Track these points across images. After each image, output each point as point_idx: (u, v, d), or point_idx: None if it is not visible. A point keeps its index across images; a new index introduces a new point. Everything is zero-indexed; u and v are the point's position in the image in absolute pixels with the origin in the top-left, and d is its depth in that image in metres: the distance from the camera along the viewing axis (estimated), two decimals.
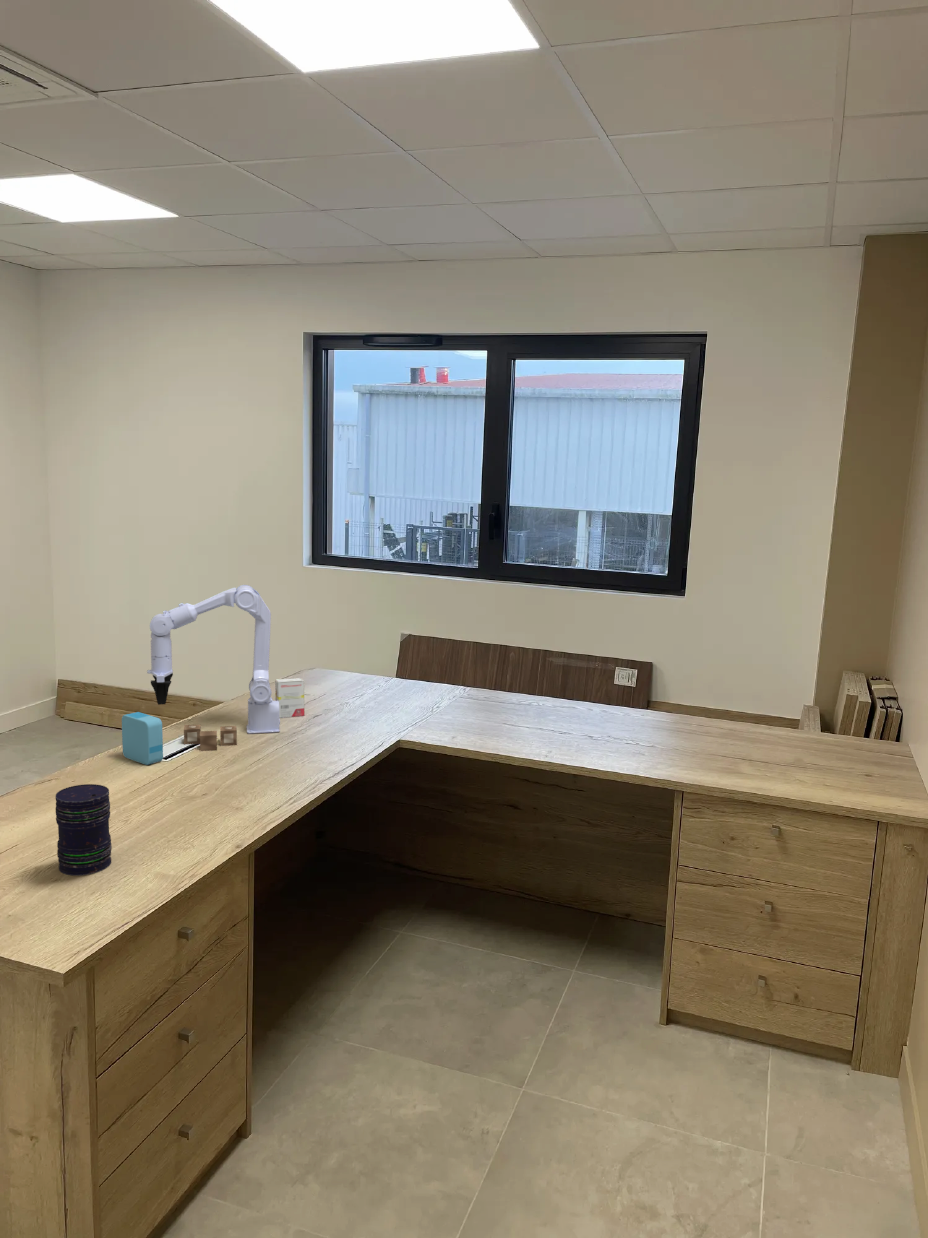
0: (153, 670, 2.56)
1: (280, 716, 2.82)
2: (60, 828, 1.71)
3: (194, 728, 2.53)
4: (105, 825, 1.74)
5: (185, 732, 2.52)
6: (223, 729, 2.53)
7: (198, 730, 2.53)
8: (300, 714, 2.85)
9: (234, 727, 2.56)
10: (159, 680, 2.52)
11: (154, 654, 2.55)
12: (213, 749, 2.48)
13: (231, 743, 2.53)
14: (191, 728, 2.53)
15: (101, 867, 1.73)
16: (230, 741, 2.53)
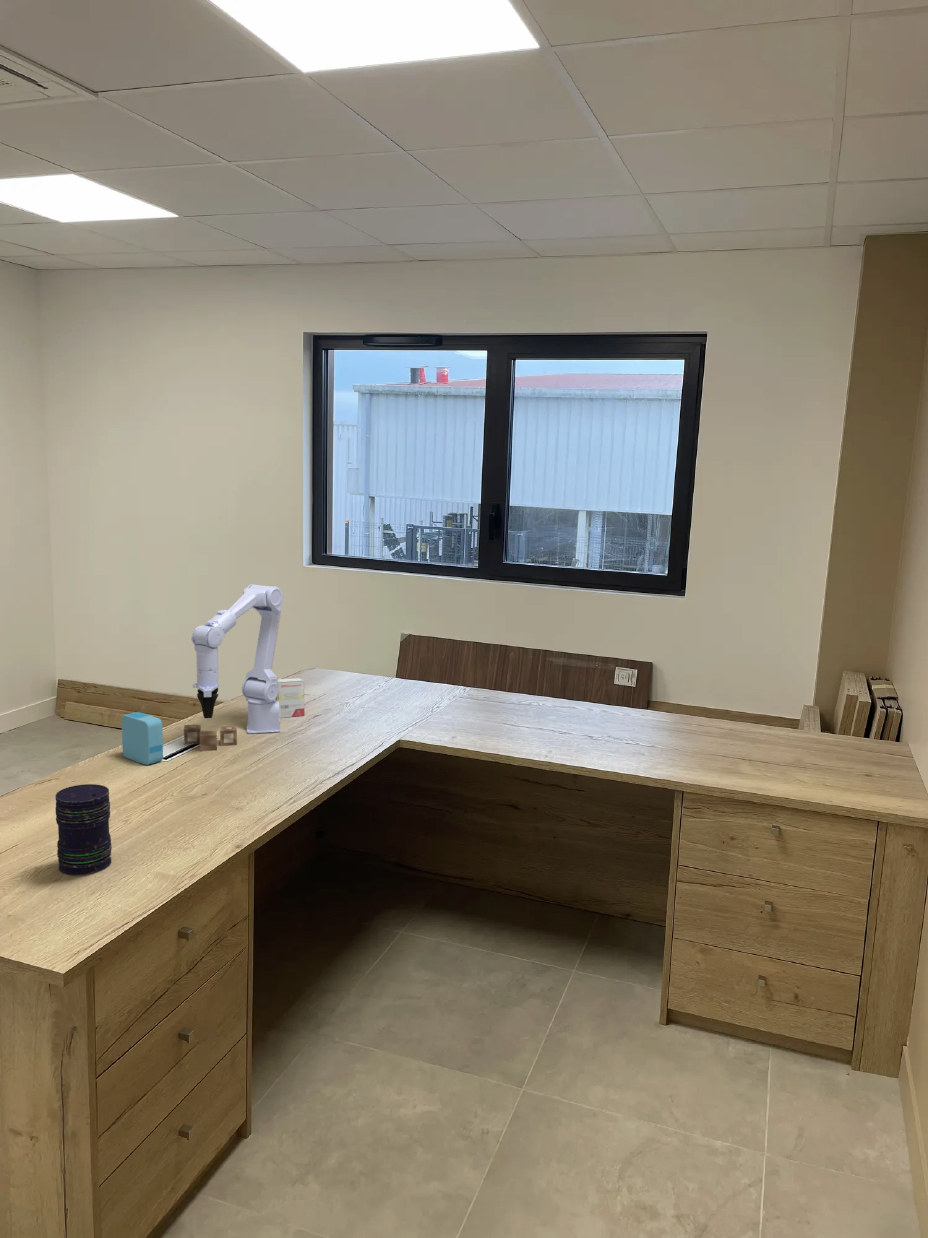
0: (199, 684, 2.45)
1: (280, 716, 2.82)
2: (60, 828, 1.71)
3: (194, 728, 2.53)
4: (105, 825, 1.74)
5: (185, 732, 2.52)
6: (223, 729, 2.53)
7: (198, 730, 2.53)
8: (300, 714, 2.85)
9: (234, 727, 2.56)
10: (206, 695, 2.40)
11: (208, 667, 2.44)
12: (213, 749, 2.48)
13: (231, 743, 2.53)
14: (191, 728, 2.53)
15: (101, 867, 1.73)
16: (230, 741, 2.53)
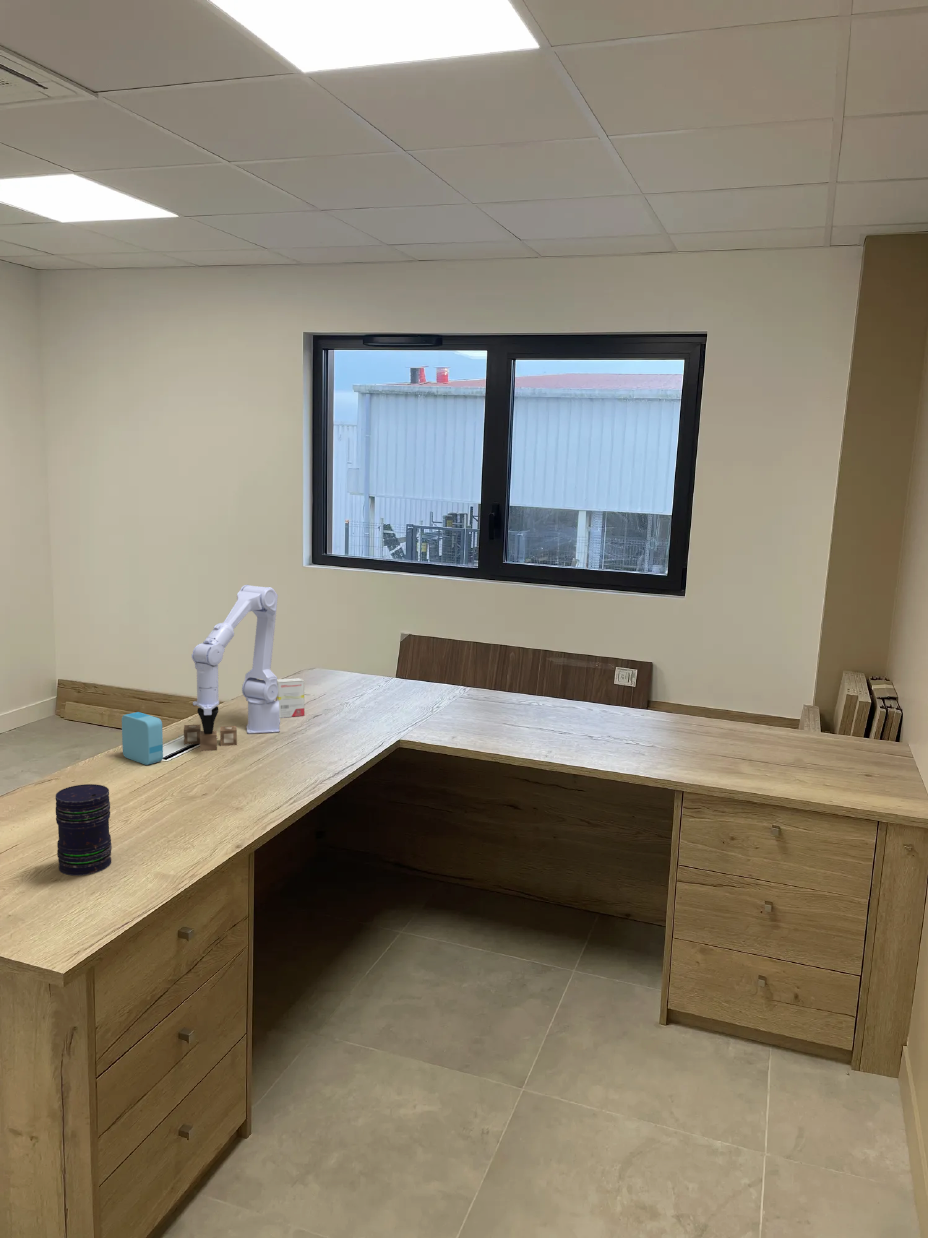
0: (199, 702, 2.45)
1: (280, 716, 2.82)
2: (60, 828, 1.71)
3: (194, 728, 2.53)
4: (105, 825, 1.74)
5: (185, 732, 2.52)
6: (223, 729, 2.53)
7: (198, 730, 2.53)
8: (300, 714, 2.85)
9: (234, 727, 2.56)
10: (206, 713, 2.41)
11: (209, 685, 2.44)
12: (213, 749, 2.48)
13: (231, 743, 2.53)
14: (191, 728, 2.53)
15: (101, 867, 1.73)
16: (230, 741, 2.53)
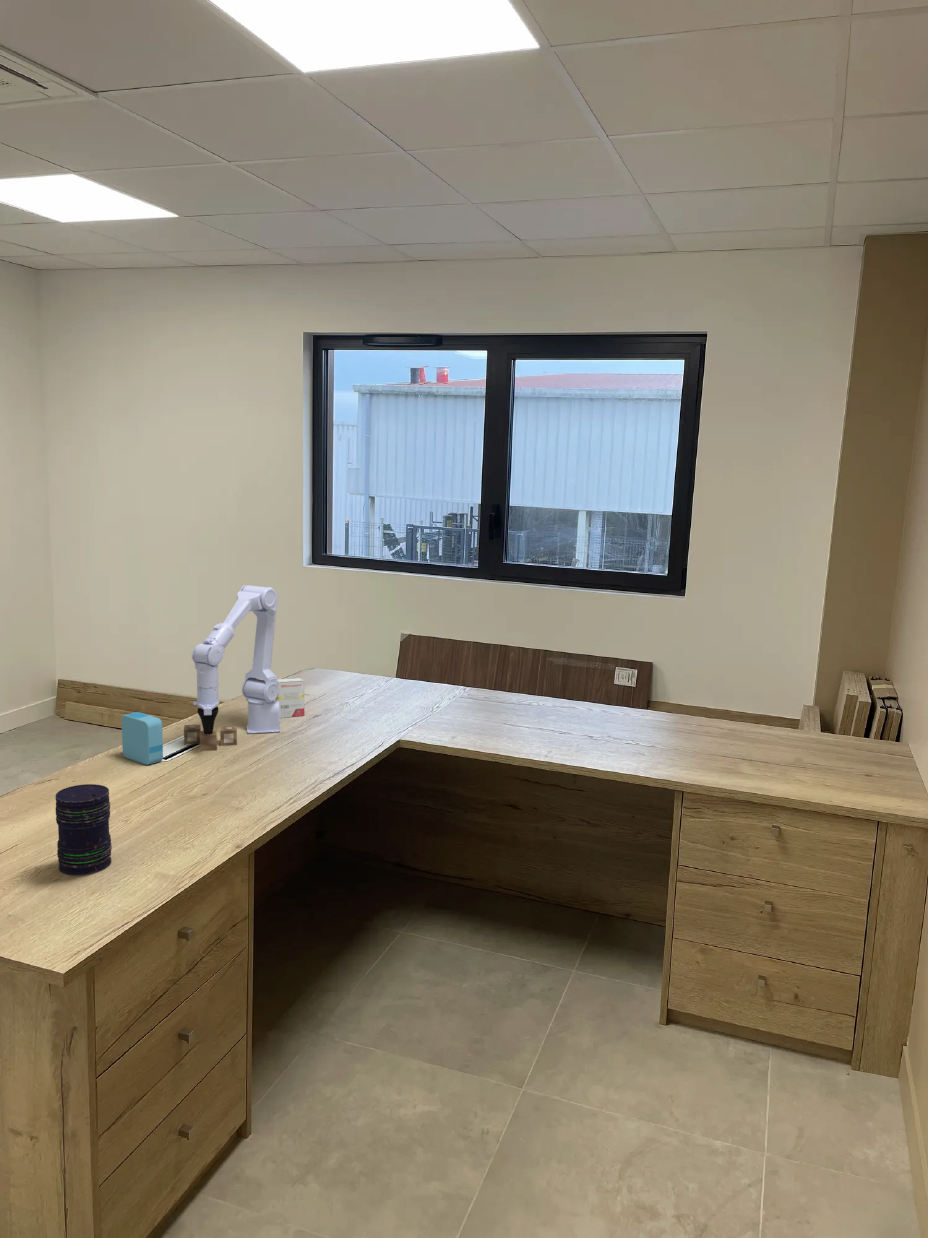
0: (199, 702, 2.45)
1: (280, 716, 2.82)
2: (60, 828, 1.71)
3: (194, 728, 2.53)
4: (105, 825, 1.74)
5: (185, 732, 2.52)
6: (223, 729, 2.53)
7: (198, 730, 2.53)
8: (300, 714, 2.85)
9: (234, 727, 2.56)
10: (206, 713, 2.41)
11: (209, 685, 2.44)
12: (213, 749, 2.48)
13: (231, 743, 2.53)
14: (191, 728, 2.53)
15: (101, 867, 1.73)
16: (230, 741, 2.53)
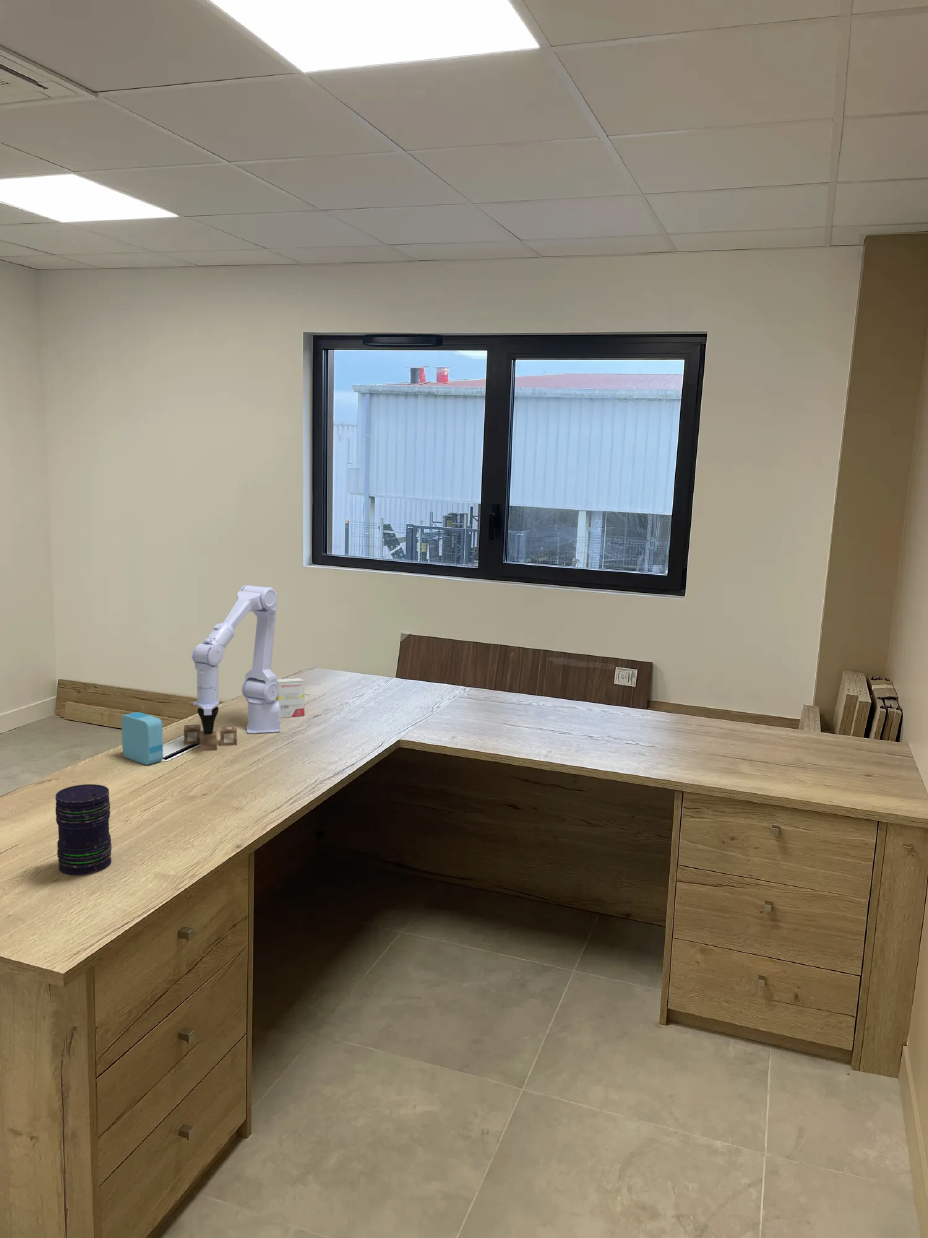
0: (199, 702, 2.45)
1: (280, 716, 2.82)
2: (60, 828, 1.71)
3: (194, 728, 2.53)
4: (105, 825, 1.74)
5: (185, 732, 2.52)
6: (223, 729, 2.53)
7: (198, 730, 2.53)
8: (300, 714, 2.85)
9: (234, 727, 2.56)
10: (206, 713, 2.41)
11: (209, 685, 2.44)
12: (213, 749, 2.48)
13: (231, 743, 2.53)
14: (191, 728, 2.53)
15: (101, 867, 1.73)
16: (230, 741, 2.53)
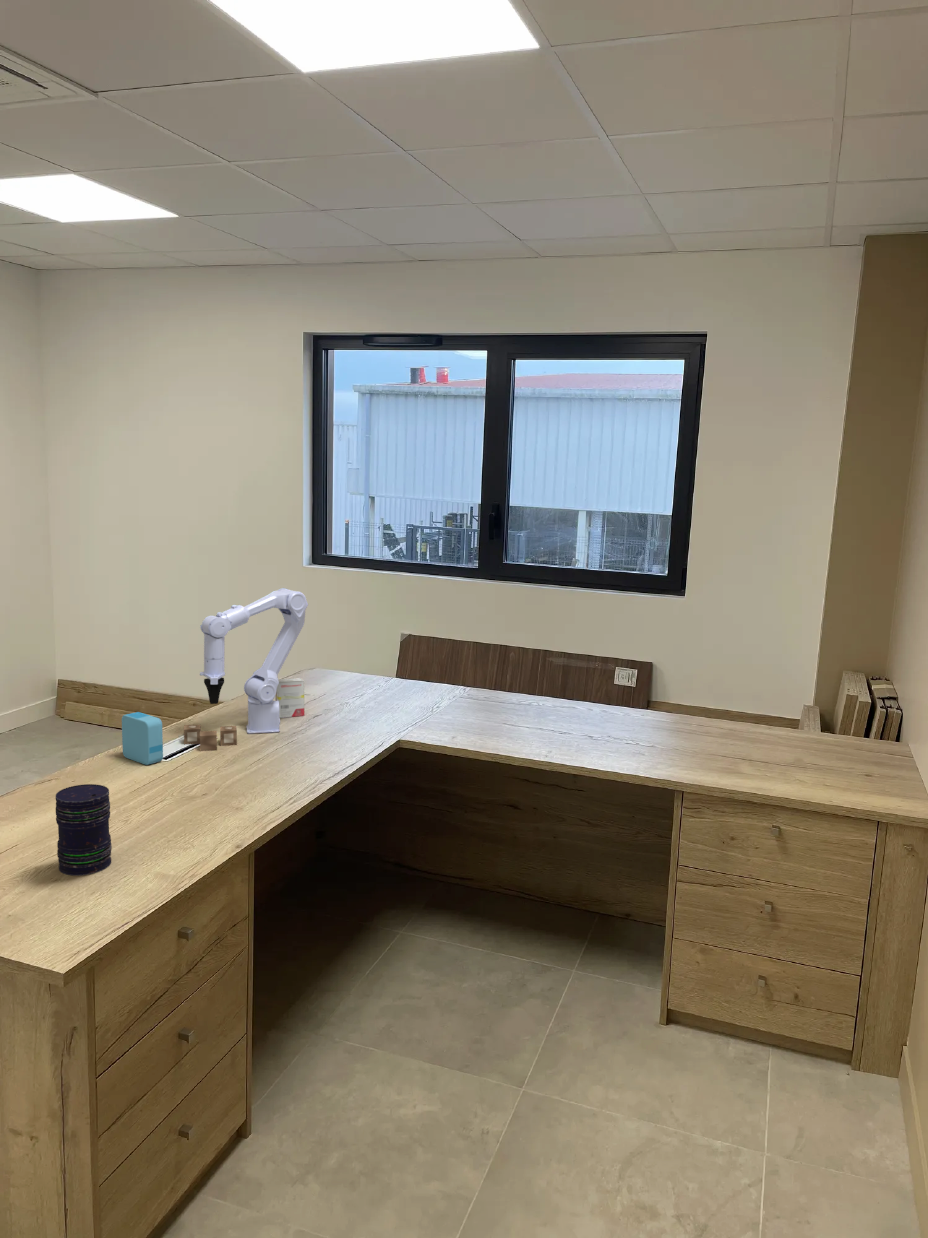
0: (206, 672, 2.54)
1: (280, 716, 2.82)
2: (60, 828, 1.71)
3: (194, 728, 2.53)
4: (105, 825, 1.74)
5: (185, 732, 2.52)
6: (223, 729, 2.53)
7: (198, 730, 2.53)
8: (300, 714, 2.85)
9: (234, 727, 2.56)
10: (213, 682, 2.50)
11: (211, 656, 2.53)
12: (213, 749, 2.48)
13: (231, 743, 2.53)
14: (191, 728, 2.53)
15: (101, 867, 1.73)
16: (230, 741, 2.53)
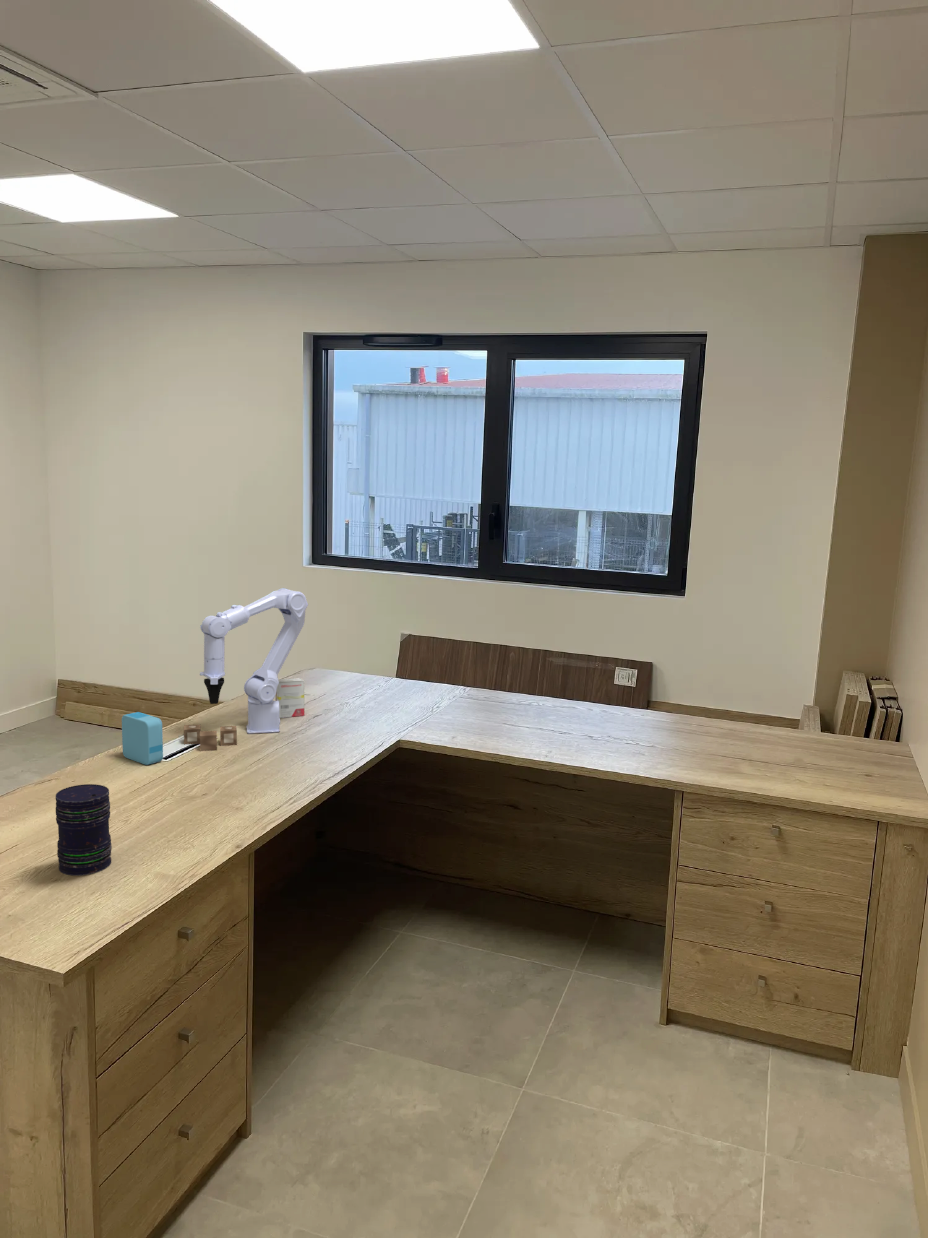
0: (206, 672, 2.54)
1: (280, 716, 2.82)
2: (60, 828, 1.71)
3: (194, 728, 2.53)
4: (105, 825, 1.74)
5: (185, 732, 2.52)
6: (223, 729, 2.53)
7: (198, 730, 2.53)
8: (300, 714, 2.85)
9: (234, 727, 2.56)
10: (213, 682, 2.50)
11: (211, 656, 2.53)
12: (213, 749, 2.48)
13: (231, 743, 2.53)
14: (191, 728, 2.53)
15: (101, 867, 1.73)
16: (230, 741, 2.53)
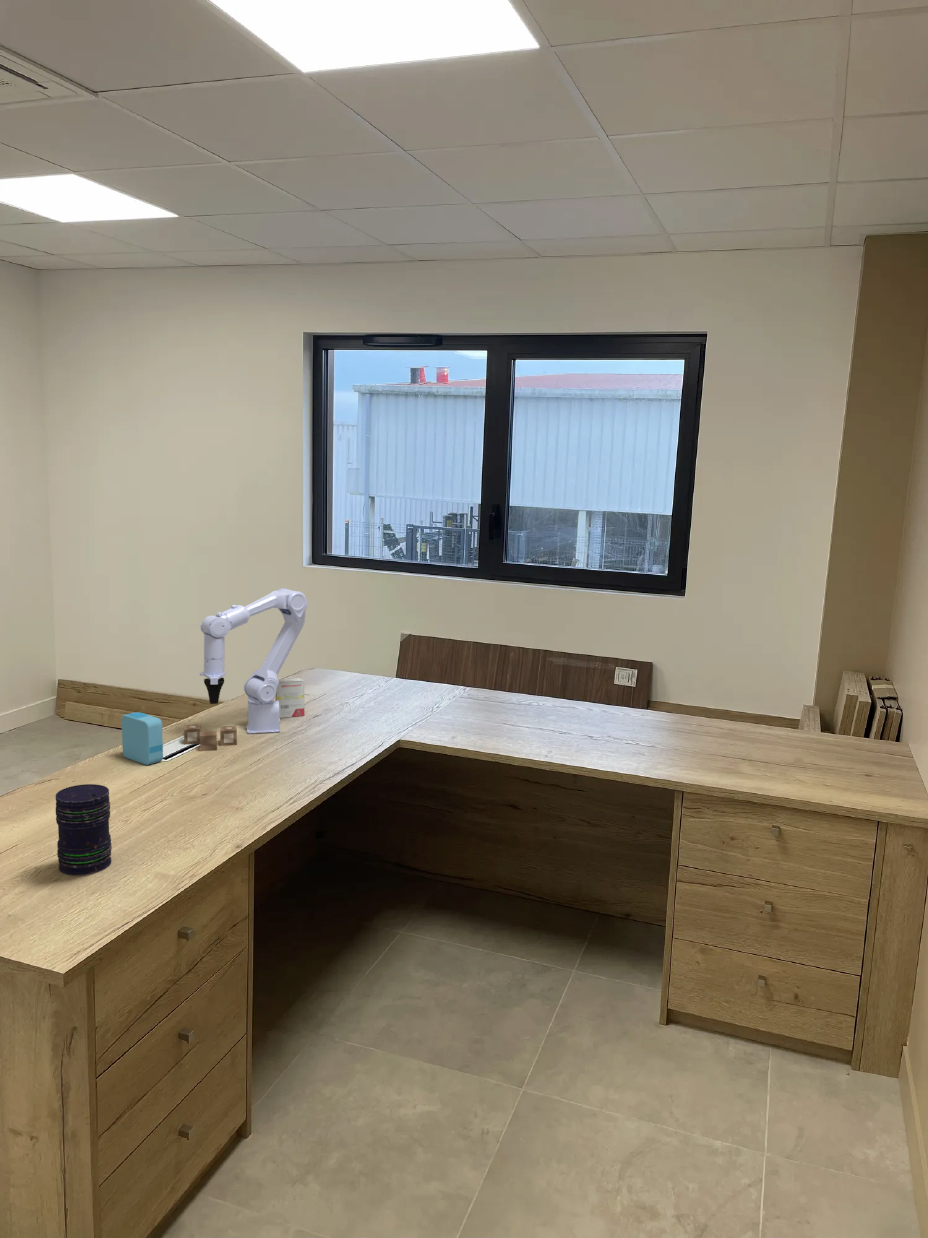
0: (206, 672, 2.54)
1: (280, 716, 2.82)
2: (60, 828, 1.71)
3: (194, 728, 2.53)
4: (105, 825, 1.74)
5: (185, 732, 2.52)
6: (223, 729, 2.53)
7: (198, 730, 2.53)
8: (300, 714, 2.85)
9: (234, 727, 2.56)
10: (213, 682, 2.50)
11: (211, 656, 2.53)
12: (213, 749, 2.48)
13: (231, 743, 2.53)
14: (191, 728, 2.53)
15: (101, 867, 1.73)
16: (230, 741, 2.53)
